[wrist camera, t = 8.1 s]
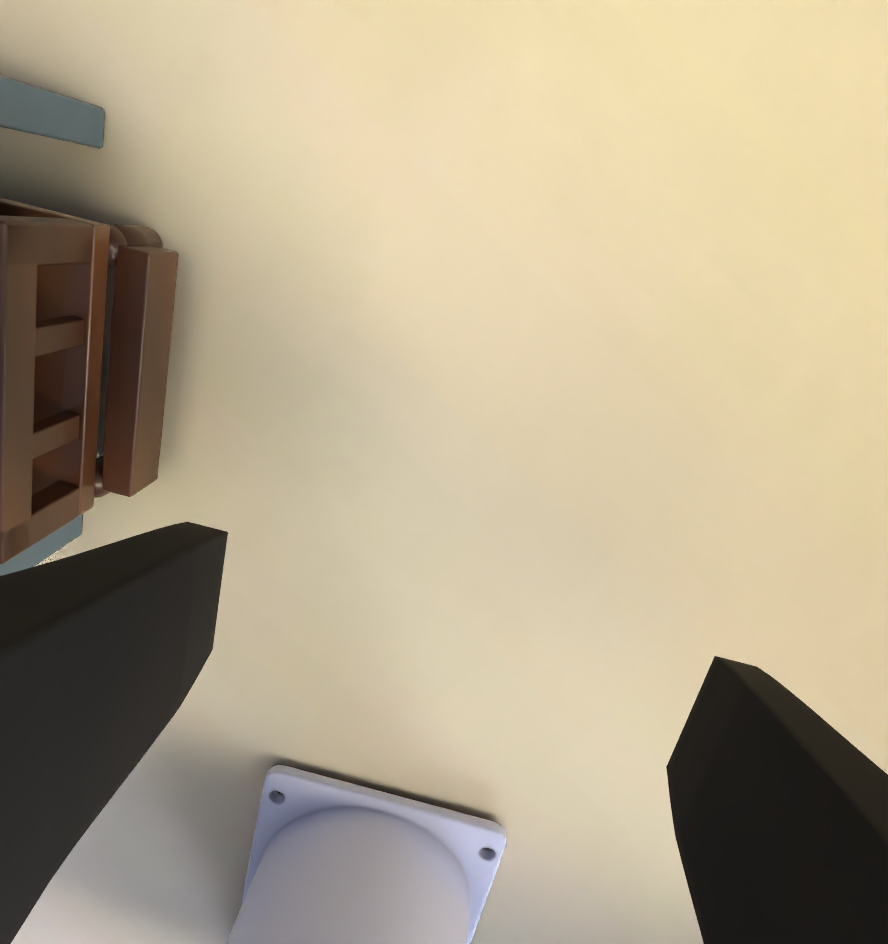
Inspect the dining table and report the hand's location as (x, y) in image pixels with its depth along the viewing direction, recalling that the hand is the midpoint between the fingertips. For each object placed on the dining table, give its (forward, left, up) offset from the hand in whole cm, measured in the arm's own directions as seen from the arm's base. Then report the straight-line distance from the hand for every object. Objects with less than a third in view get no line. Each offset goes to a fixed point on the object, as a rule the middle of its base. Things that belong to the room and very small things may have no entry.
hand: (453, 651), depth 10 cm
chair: (+1, +12, -9) cm, 15 cm away
